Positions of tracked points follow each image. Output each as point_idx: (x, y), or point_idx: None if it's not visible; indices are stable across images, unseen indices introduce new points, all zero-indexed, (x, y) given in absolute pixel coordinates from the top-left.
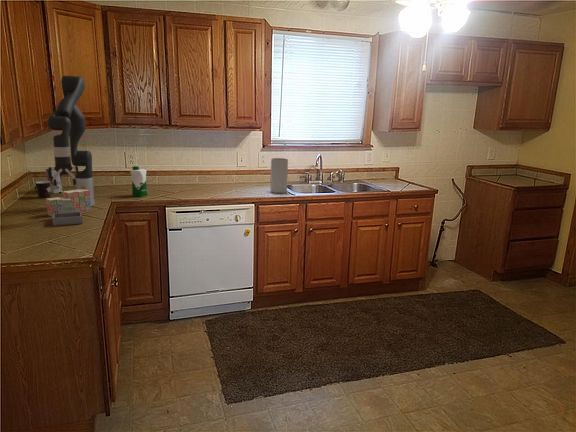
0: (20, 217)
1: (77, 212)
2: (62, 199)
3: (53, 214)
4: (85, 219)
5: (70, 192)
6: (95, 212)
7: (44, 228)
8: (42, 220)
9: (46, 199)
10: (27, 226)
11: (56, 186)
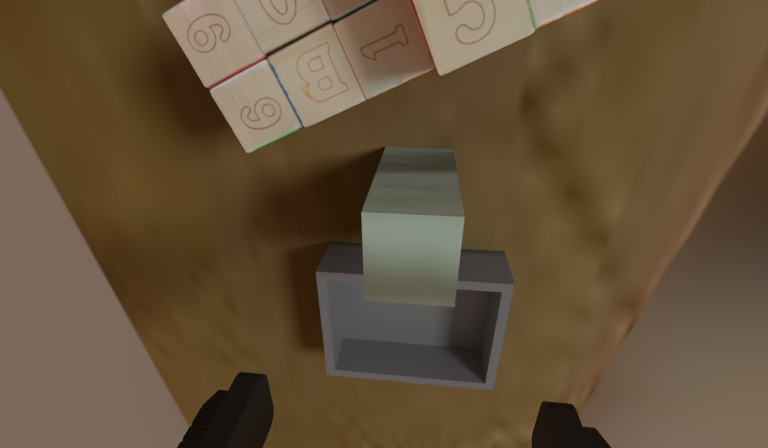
0: (75, 50)
1: (483, 289)
2: (369, 237)
3: (321, 293)
4: (523, 267)
5: (489, 37)
6: (673, 55)
7: (302, 359)
8: (257, 200)
9: (172, 25)
10: (212, 300)
11: (267, 415)
